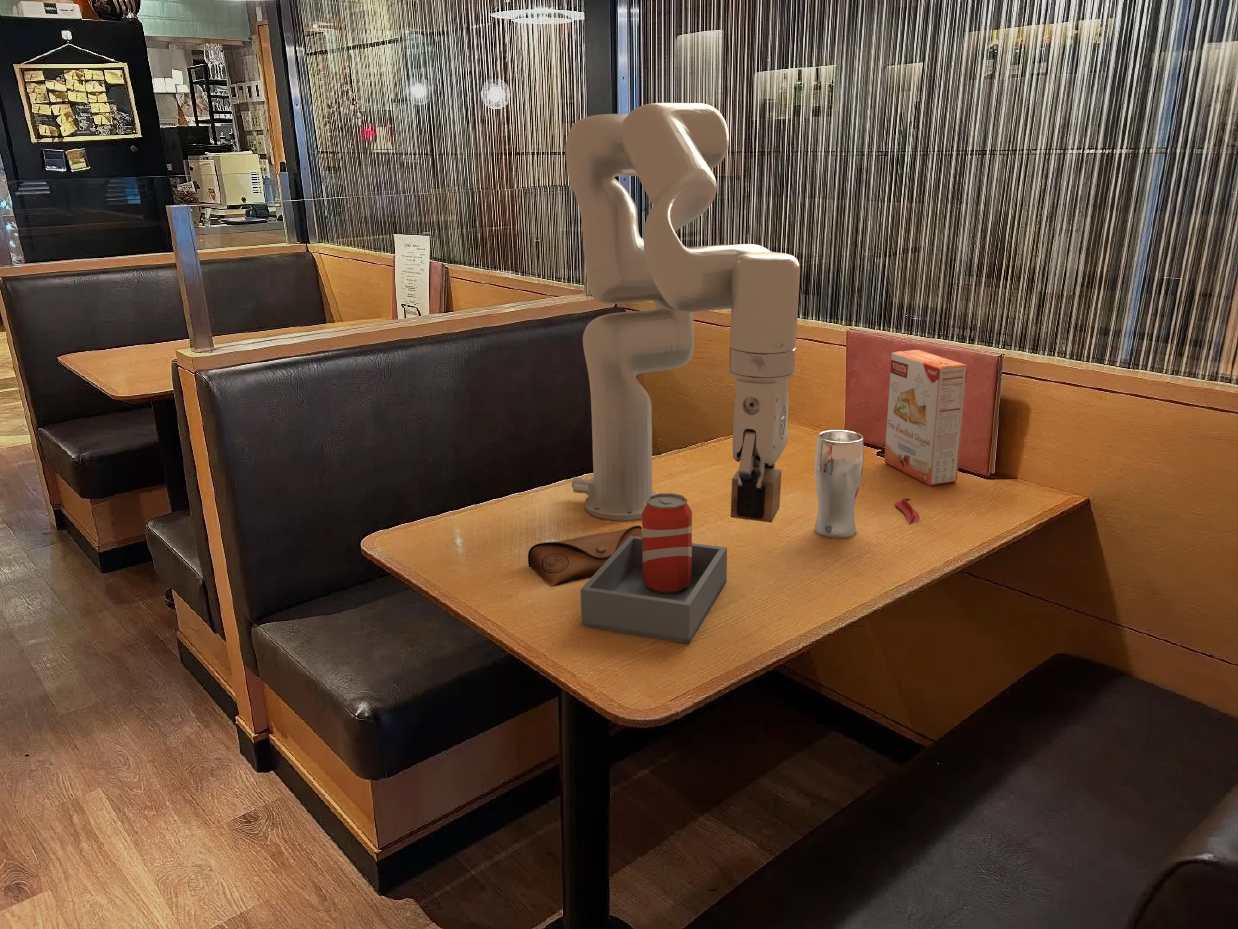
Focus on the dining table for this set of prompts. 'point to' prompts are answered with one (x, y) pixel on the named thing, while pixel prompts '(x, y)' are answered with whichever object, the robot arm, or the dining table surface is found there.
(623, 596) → the tote
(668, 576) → the beverage can
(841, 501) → the beer glass
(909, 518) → the cayenne pepper
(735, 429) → the robot arm
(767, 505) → the walnut cube
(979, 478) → the dining table surface
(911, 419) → the cracker box
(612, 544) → the sunglasses case
